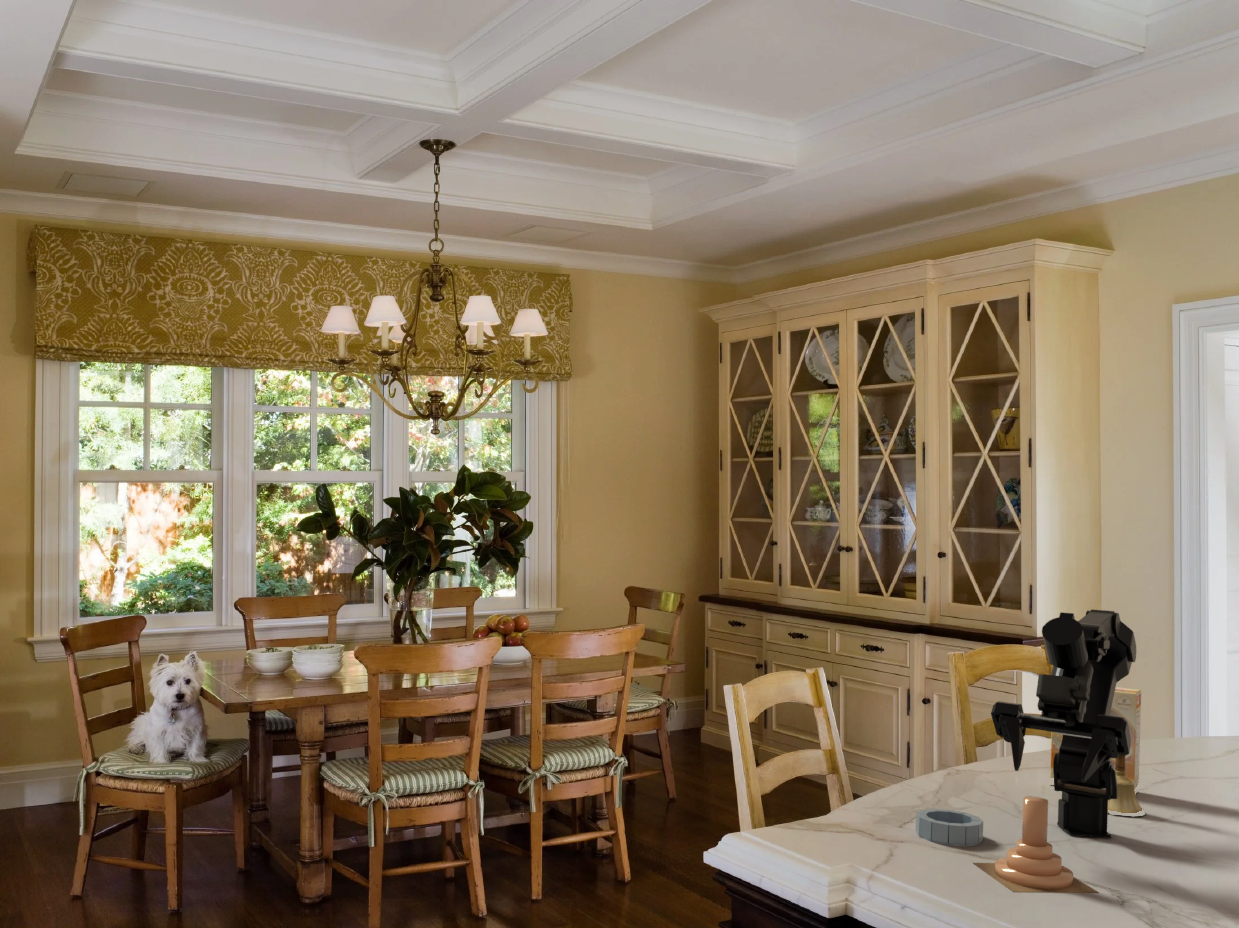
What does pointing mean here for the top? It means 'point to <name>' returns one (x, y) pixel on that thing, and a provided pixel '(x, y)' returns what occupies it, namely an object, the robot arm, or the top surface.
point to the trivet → (1075, 888)
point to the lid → (1034, 853)
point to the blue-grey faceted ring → (949, 827)
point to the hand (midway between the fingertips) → (1048, 774)
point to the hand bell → (1123, 791)
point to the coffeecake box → (1130, 709)
